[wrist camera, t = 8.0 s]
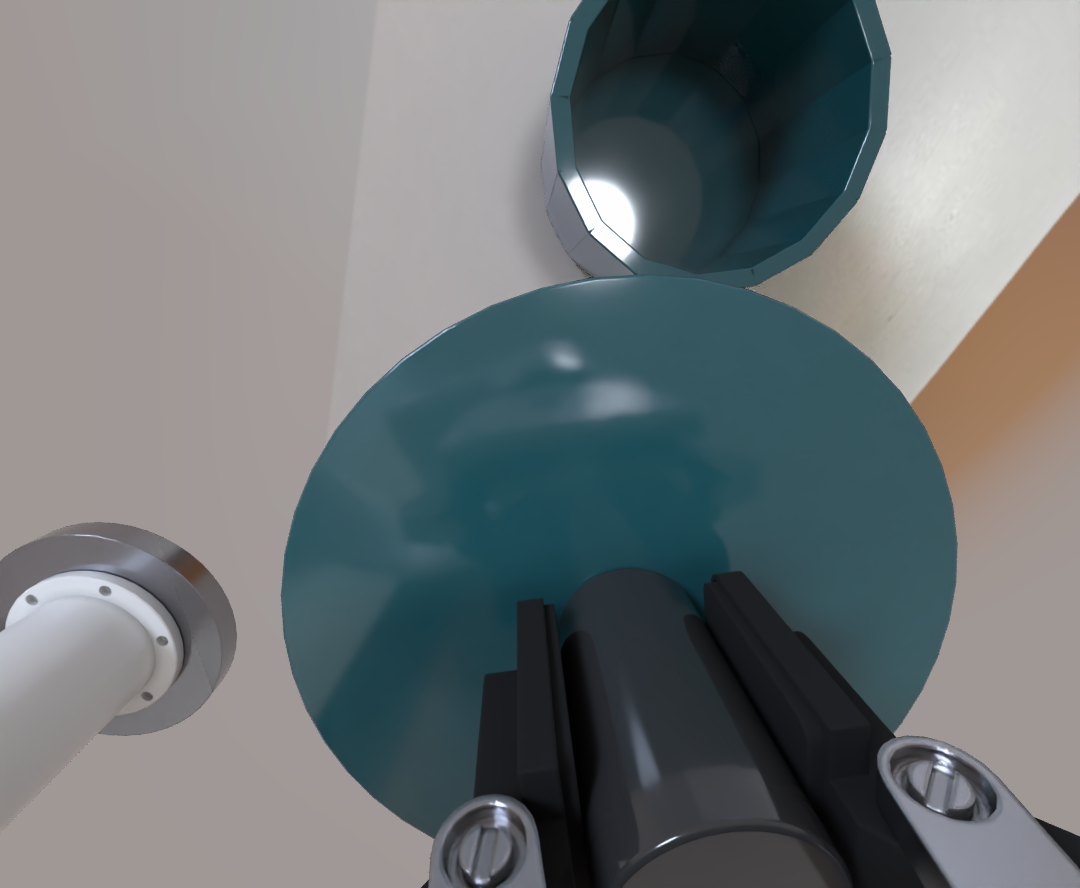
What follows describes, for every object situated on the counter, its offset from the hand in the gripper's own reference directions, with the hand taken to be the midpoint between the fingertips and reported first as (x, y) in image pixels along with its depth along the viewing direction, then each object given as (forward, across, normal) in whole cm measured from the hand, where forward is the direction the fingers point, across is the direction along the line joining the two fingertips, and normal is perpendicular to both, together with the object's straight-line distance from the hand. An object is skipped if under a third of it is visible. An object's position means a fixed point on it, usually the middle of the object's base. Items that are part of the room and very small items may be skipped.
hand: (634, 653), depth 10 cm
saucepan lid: (+1, 0, 0) cm, 1 cm away
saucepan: (+25, -8, -13) cm, 29 cm away
